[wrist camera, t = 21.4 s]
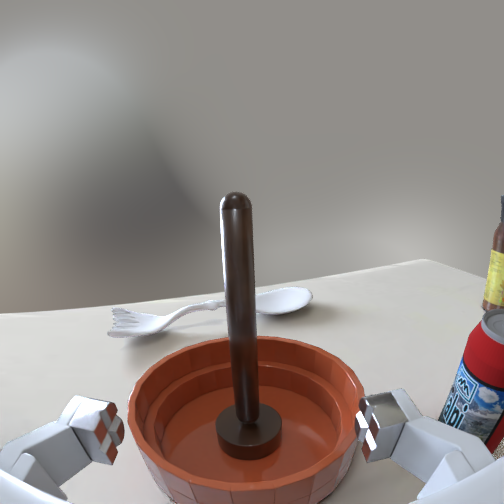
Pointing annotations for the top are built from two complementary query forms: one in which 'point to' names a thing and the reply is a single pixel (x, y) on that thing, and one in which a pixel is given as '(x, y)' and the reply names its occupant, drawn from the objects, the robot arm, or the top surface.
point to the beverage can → (480, 384)
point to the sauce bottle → (496, 270)
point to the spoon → (151, 324)
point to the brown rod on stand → (243, 341)
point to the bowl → (222, 396)
